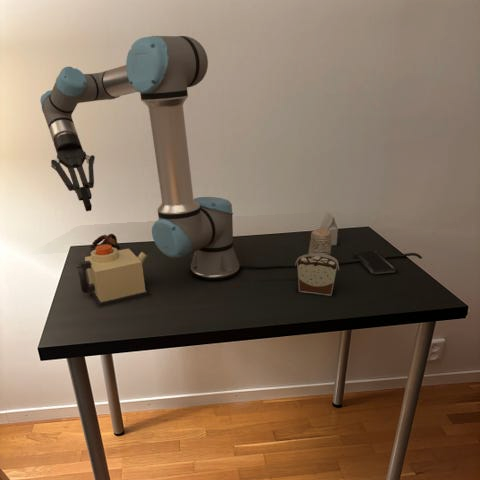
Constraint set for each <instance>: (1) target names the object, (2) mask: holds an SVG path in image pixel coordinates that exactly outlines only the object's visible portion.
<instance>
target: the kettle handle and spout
mask: <svg viewBox="0 0 480 480" xmlns="http://www.w3.org/2000/svg"><path fill="white" fill-rule="evenodd" d="M136 257H137V258H138V259H139V260H140V261H141V262H142V265H143V264H144V263H145V261H146V260H147V258H148V257H149V256H148V255H147V254H146V253H145V252H143V251H141V252H140V253H139V254H138V256H136ZM76 268H77V269H76V270H77V273H78V278H79V283H80V289H81V292H82V293H83V294H88V293H90V294H91V295H92V296H93V298H94V299H95V302H97V304H98V306H99V307H104V306H108V305H112V304H117V303H121V302H124V301H128V300H132V299H137V298H142V297H145V296H148V295H149V291H148V290H147V289H146V288H145V291H146V292H142V293H138V294H134V295H129V296H125V297H121V298H117V299H113V300H108V301H104V302H100V300H99V299H98V297H97V296H96V294H95V293H94V291H95V286H94V284H93V283H92V284H90V283H89V282H88V281H89V280H88V275H87V272H86V271H87V269H89V268H91V262H90V261H85V260H84V261H79V263H78V264H77V265H76Z"/></svg>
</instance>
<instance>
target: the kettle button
mask: <svg viewBox="0 0 480 480" xmlns="http://www.w3.org/2000/svg"><path fill="white" fill-rule="evenodd" d="M98 245H99V246H98ZM98 245H97V246H96V253H97V255H108V254H111V253H112V246H111V245H108V244H104V245H100V244H98Z"/></svg>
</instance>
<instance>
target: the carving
mask: <svg viewBox="0 0 480 480" xmlns="http://www.w3.org/2000/svg"><path fill="white" fill-rule="evenodd" d="M331 243H332V235H331V232H330V231H329V230H326V229H321V228H316V229H314V230H313V231H311V233H310V240H309V247H308V253H307V254H325V255H329V256H331V254H332V245H331Z"/></svg>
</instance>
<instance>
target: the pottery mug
mask: <svg viewBox="0 0 480 480" xmlns="http://www.w3.org/2000/svg"><path fill="white" fill-rule="evenodd" d="M104 244H108V245H111V246H112V247H113V248H116V249H117V250H118V251H119V250H122V248H121V247H120V245H119V243H118V239H117V236H116V235H115V234H114V233H109V234H108V235H107V234H102V235H100V236H98V237H97V238H96V239H95V240H93V241H92V242H91V244H90V246H89V250H90V251H91V252H92V251H93V250H95V249H96V247H97V246H99V245H104Z"/></svg>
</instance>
